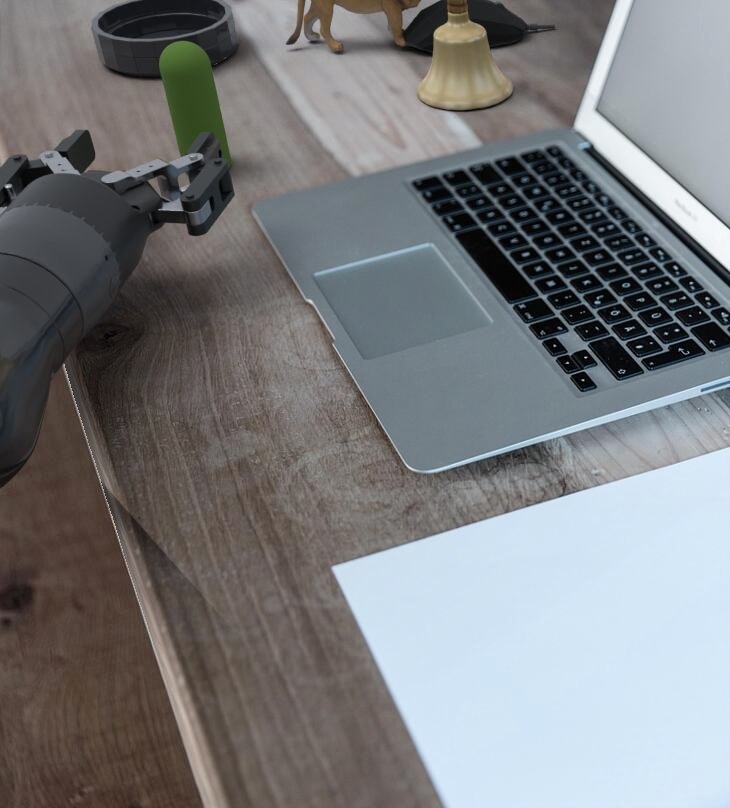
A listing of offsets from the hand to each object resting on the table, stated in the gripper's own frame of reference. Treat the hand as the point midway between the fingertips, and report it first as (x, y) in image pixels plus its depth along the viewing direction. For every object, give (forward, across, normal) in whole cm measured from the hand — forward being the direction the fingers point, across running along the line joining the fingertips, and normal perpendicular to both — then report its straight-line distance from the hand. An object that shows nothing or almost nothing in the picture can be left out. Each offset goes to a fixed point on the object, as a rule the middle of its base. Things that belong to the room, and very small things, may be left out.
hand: (149, 143), depth 82 cm
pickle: (+9, 0, +6) cm, 11 cm away
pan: (+32, +10, +6) cm, 34 cm away
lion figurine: (+35, -8, +6) cm, 37 cm away
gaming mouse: (+37, -18, +6) cm, 41 cm away
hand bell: (+24, -18, +6) cm, 31 cm away
